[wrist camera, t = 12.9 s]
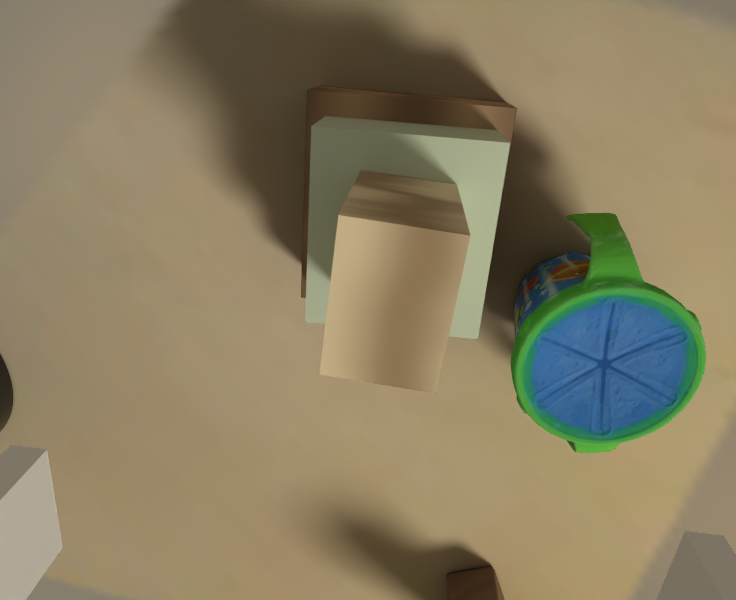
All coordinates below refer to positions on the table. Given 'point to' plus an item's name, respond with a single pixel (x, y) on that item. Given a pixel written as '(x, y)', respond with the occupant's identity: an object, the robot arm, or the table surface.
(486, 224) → the sage slab
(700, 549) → the robot arm
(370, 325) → the oak block
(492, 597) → the wooden block
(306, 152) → the walnut slab
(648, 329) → the snack cup
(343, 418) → the table surface
